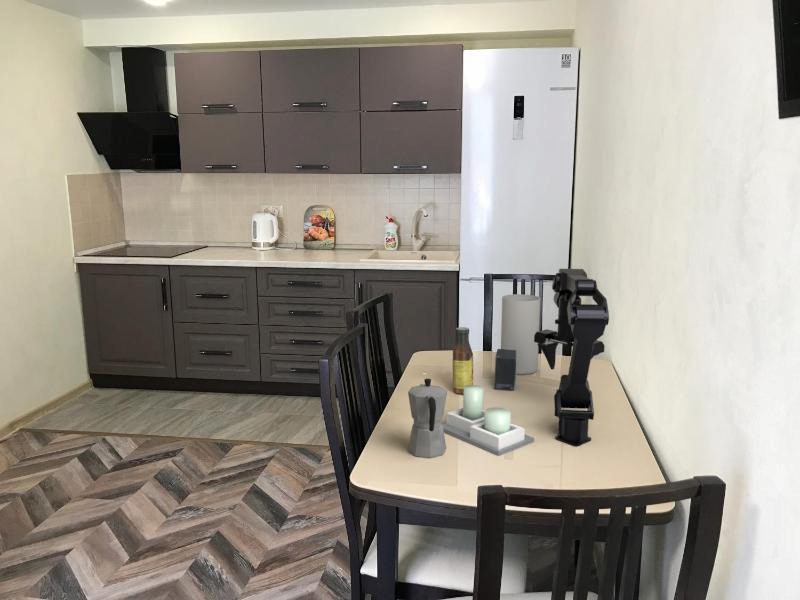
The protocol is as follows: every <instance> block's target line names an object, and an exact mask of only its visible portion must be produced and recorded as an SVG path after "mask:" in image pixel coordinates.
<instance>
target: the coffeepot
mask: <svg viewBox="0 0 800 600" xmlns="http://www.w3.org/2000/svg"><path fill="white" fill-rule="evenodd" d="M431 383H432V379H431V378H424V383H420V384H419V385H416V386H412V387H410V388H409V390H408V391H407V393H408V400H409V401H408V402H409V408H410V413H411V414H410V415H411V418H412V419H413V424H412V427H411V432H410V437H409V441H408V442H409V443H408V450H407V451H408V452H409V453H410V454H411V455H412V456H413V457H414V456H415V457H416V458H417V457H418V458H423V459H435V458H439V457H441V456H443V455H444V454H445V453H446V450H447V445H446V439H445V438H446V437H445V433H444V430H443V424H442V419H443V417H444V413H445V408H446V406H445V405H446V402H447V395H448V390H447V389H446V388H444V387H443V386H440V385H432V384H431ZM438 456H439V457H438Z"/></svg>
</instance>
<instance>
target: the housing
mask: <svg viewBox="0 0 800 600" xmlns="http://www.w3.org/2000/svg"><path fill="white" fill-rule="evenodd" d="M511 421H512V411H510V410H509V409H508V408H504V407H499V406H498V407H495V406H494V407H489V408H486V409H483V408H482V418H479V419H476V420H473V421H472V420H469V419H467V418H464V417H463V407H462V408H458V409H455V410H452V411H449V412H446V423H443V424H442V425H443V430H444V434H447V435H449V436H451V437H453V438H456V439H458V440H461V441H463V442H465V443H468V444H470V445H472V446H474V445H475V447H477V448H479V449H482V450H484V451H487V452H488V453H491V454H493V455H495V456H498V457H499V456H502V455H504V454H507V453H509V452H512V451H514V450H517V449H520V448H521V447H524V446H527V445H529V444H532V443H534V442H535V438H534V437H532V436H531V435H527V434H525V430H526V429H525V427H523V426H519V425H516V424H514V423H511Z"/></svg>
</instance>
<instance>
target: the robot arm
mask: <svg viewBox="0 0 800 600" xmlns="http://www.w3.org/2000/svg"><path fill="white" fill-rule="evenodd" d="M551 290H552V291H553V293H554V295H553V302H554V305H555V306H556V307H557V308H558V314H557V315H558V316H557V319H554V324H555V325H557V331H555V330H551V329H542V330H539V331H538V332H536V333H535V335H534V342H536V343H538V347H540V349H541V351H542V353H543V355H544V357H545V359H546V360H547V361H546V362H547V363H548V366H549V368H550V370H555V367H556V357H557V356H556V352H557V348H558V345H566V346H570V347H572V350H571V354H570V355H571V357H570V362H569V368H568V374H562V375H561V376H560V381H559V386H558V389H557V388H556V389H555V390H556V391H555V394H554V395H553V400H554V401H553V402H554V416H555V417H556V418H558V425H557V426H558V430H557V431H558V432H557V433H558V435H556V436H555V440H558V441H560V442H564V443H566V444H568V445H571V446H573V447H579V446H580V445H584V444H586V443H588V442H590V441H592V437H590V436H589V422H590V421H589V420H591V421H594V417H595V408H594V401H593V392H592V390H591V387H590V383H589V380H588V377H589V372H590V365H591V361H592V359H593V358H594V357H595V356H599V355H600V354H603V353H605V344H604V341H601V340H598V339H600V338H601V337H602V336H604V334H605V330H606V326H608V325H609V322H610V312H609V305H608V299H607V298H606V297H605V296H604V295H603V293H602V292H601V291H600V290H599V289H598V284H597V281H596V280H595V279H593V278H588V274H587V272H586V271H585V269H583V268H559V269H558V272H556V273H555V276H554V277H553V279H552V284H551ZM581 297H592V300H593V301H594V302H595V303H596V304H592V303H591V304H587V303H586V304H585V303H584V304H582V298H581ZM578 409H579V410H578ZM580 409H581V410H580ZM584 409H585V410H584ZM586 409H587V410H586Z"/></svg>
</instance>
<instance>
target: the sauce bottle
mask: <svg viewBox="0 0 800 600" xmlns="http://www.w3.org/2000/svg"><path fill="white" fill-rule="evenodd" d="M455 334H456V340H455V342H456V343H455V346H454V347H453V349H452V390H453V392H454V393H455V394H457V395H464V387H465V386H467V385H474V353H473V350H472V347H471V344H470V341H469V339H470V338H469V337H470V328H469V327H466V326H464V327H463V326H460V327H456V328H455Z"/></svg>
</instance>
